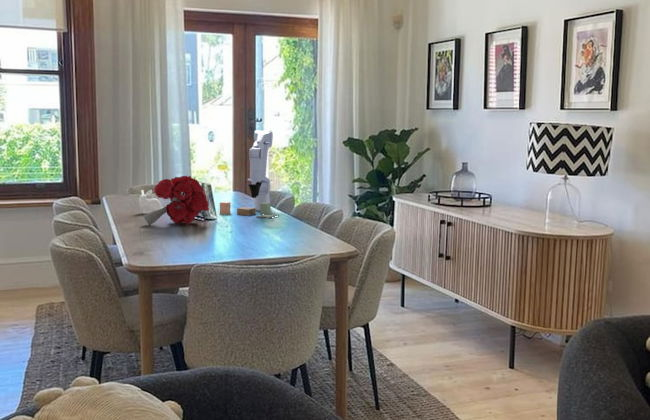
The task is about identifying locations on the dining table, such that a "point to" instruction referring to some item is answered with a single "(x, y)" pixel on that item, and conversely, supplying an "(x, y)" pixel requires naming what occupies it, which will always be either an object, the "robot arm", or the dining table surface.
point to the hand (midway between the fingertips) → (255, 196)
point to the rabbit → (149, 203)
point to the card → (266, 216)
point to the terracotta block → (224, 207)
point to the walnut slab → (246, 211)
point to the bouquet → (179, 200)
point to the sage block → (265, 208)
